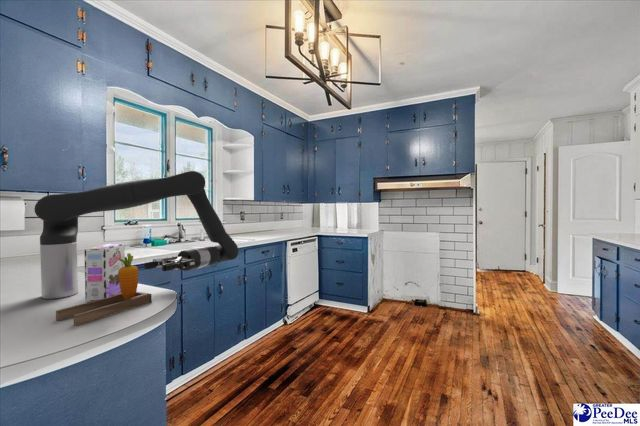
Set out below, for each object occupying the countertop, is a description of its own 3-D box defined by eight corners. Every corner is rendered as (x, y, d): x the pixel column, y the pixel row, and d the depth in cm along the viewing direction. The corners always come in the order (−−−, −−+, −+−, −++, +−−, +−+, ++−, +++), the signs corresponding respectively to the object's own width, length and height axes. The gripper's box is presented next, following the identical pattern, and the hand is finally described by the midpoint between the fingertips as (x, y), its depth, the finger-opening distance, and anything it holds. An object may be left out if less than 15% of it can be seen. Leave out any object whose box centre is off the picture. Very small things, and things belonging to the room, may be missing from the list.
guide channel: (56, 320, 79) (55, 309, 79) (132, 298, 97) (132, 289, 97) (76, 325, 75) (75, 314, 75) (151, 302, 93) (151, 293, 93)
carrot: (130, 307, 89) (128, 255, 88) (115, 306, 89) (113, 255, 89) (143, 301, 93) (141, 252, 93) (129, 301, 94) (127, 252, 94)
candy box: (105, 301, 95) (104, 248, 94) (84, 302, 94) (83, 248, 93) (126, 289, 108) (125, 242, 108) (108, 290, 107) (106, 243, 107)
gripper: (180, 247, 116) (139, 254, 101) (208, 249, 110) (168, 256, 95) (180, 267, 116) (139, 276, 102) (209, 270, 110) (169, 280, 95)
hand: (153, 267), depth 98 cm, fingers open, 8 cm apart
